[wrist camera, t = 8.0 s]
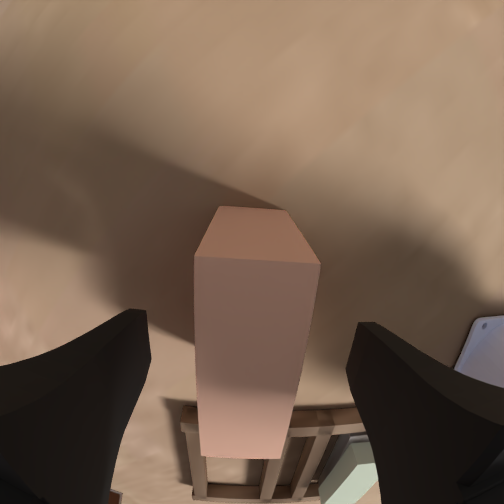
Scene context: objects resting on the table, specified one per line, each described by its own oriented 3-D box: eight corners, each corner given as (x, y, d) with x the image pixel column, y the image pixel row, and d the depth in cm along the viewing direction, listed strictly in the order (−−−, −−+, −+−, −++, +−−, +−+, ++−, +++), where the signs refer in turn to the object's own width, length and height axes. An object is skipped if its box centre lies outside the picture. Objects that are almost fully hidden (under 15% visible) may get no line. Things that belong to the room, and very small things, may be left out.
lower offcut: (380, 412, 19) (389, 431, 17) (348, 473, 22) (352, 489, 20) (343, 416, 19) (350, 436, 17) (317, 476, 22) (320, 493, 20)
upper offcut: (386, 440, 17) (395, 460, 16) (350, 485, 20) (354, 503, 18) (350, 443, 17) (357, 464, 15) (318, 488, 19) (321, 506, 17)
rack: (401, 402, 18) (408, 416, 17) (354, 483, 22) (357, 494, 20) (183, 405, 18) (180, 422, 16) (194, 486, 21) (192, 499, 20)
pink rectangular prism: (285, 209, 14) (321, 263, 7) (269, 355, 16) (280, 458, 10) (219, 205, 14) (194, 255, 7) (214, 352, 16) (201, 455, 10)
